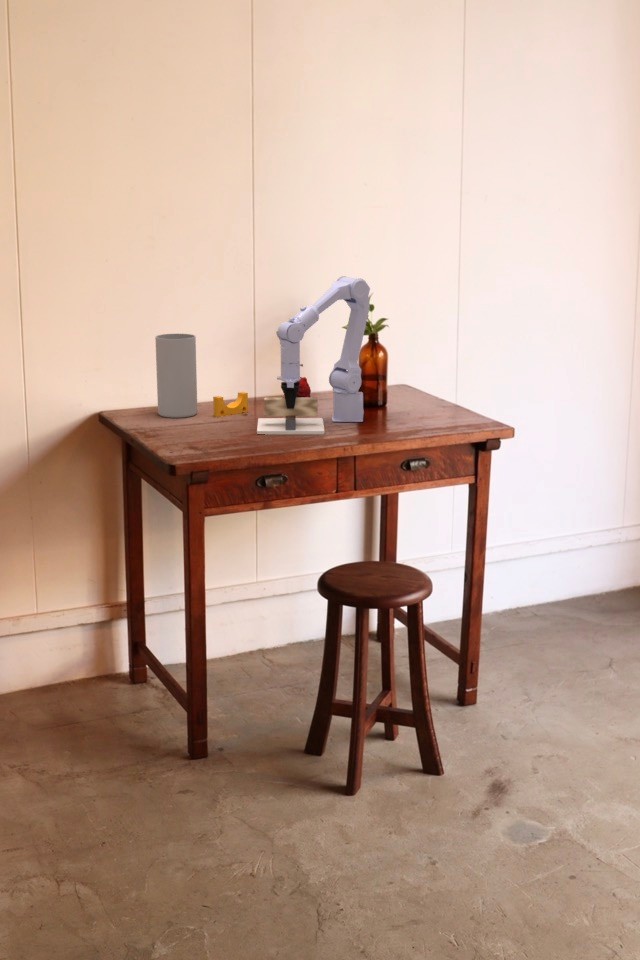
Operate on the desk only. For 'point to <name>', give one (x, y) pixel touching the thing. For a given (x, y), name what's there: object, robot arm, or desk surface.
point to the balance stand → (290, 425)
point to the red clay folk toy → (303, 387)
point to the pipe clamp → (230, 405)
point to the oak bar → (301, 408)
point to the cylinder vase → (176, 375)
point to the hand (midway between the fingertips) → (290, 407)
